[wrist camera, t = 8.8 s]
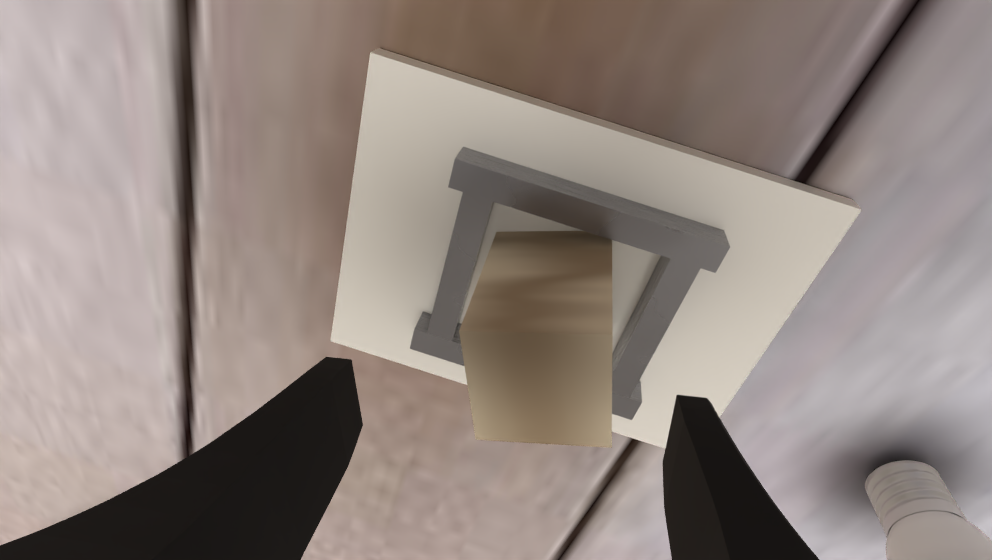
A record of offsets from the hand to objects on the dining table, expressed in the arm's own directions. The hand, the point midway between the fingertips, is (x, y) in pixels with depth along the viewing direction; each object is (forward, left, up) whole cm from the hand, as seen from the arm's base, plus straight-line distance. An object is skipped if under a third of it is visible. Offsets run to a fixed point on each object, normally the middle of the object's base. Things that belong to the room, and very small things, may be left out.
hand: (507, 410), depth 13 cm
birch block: (-1, +2, -9) cm, 9 cm away
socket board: (-1, +2, -10) cm, 10 cm away
